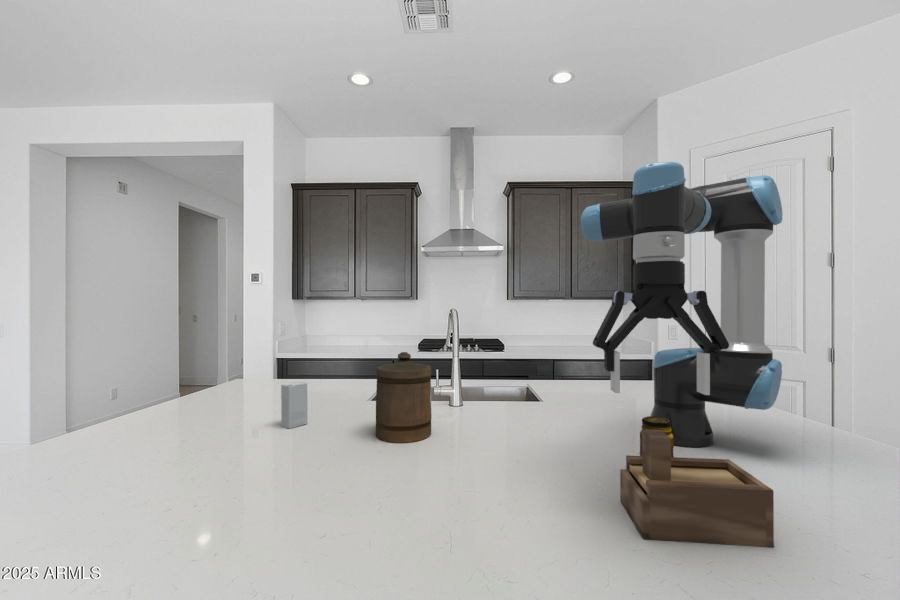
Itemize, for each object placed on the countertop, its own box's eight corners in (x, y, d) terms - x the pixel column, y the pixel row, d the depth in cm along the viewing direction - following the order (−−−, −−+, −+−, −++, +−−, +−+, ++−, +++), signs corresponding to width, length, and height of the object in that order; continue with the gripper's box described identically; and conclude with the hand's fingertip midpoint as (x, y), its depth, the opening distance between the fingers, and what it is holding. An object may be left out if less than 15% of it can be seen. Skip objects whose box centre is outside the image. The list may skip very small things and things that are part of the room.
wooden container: (441, 431, 116) (441, 351, 116) (408, 447, 103) (408, 357, 103) (399, 423, 123) (399, 348, 124) (363, 436, 111) (363, 353, 111)
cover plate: (629, 469, 74) (629, 424, 74) (723, 473, 72) (723, 427, 72) (649, 496, 64) (649, 443, 64) (759, 502, 62) (759, 447, 62)
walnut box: (620, 501, 75) (620, 455, 75) (728, 506, 73) (728, 459, 73) (643, 539, 63) (642, 484, 63) (773, 547, 61) (773, 490, 61)
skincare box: (299, 421, 125) (299, 380, 125) (308, 424, 122) (308, 382, 122) (280, 426, 120) (280, 384, 120) (288, 429, 117) (288, 386, 117)
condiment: (679, 488, 80) (678, 425, 80) (630, 483, 83) (630, 421, 83) (671, 473, 87) (671, 415, 87) (626, 468, 89) (626, 412, 90)
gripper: (583, 260, 66) (584, 395, 66) (754, 258, 63) (755, 399, 63) (575, 264, 73) (575, 386, 73) (727, 262, 71) (728, 389, 71)
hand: (658, 392), depth 68 cm, fingers open, 13 cm apart
